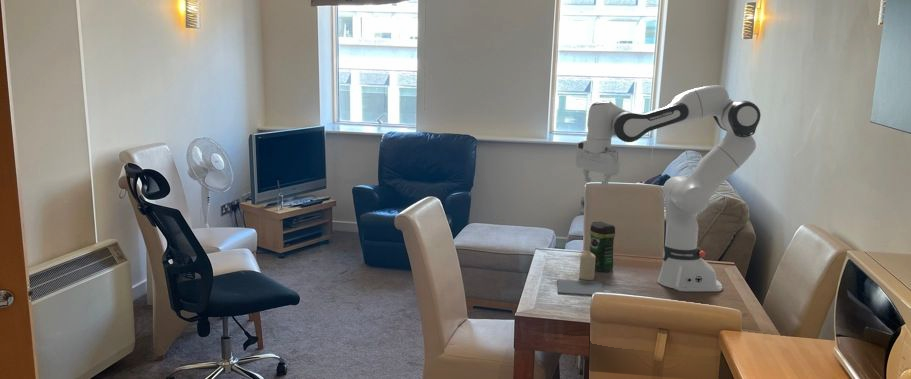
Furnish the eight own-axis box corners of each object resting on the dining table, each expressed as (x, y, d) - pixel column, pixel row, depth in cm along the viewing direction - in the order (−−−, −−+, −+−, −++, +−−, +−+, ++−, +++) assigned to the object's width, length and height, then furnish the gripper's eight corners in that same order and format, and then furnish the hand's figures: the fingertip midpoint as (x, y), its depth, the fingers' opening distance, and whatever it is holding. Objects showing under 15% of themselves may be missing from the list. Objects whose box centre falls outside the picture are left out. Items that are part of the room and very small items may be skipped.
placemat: (601, 283, 254) (601, 282, 254) (604, 296, 240) (604, 295, 240) (557, 281, 256) (557, 279, 255) (558, 293, 242) (558, 292, 242)
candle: (594, 280, 257) (595, 254, 255) (579, 279, 258) (580, 253, 256) (594, 276, 262) (595, 250, 260) (579, 275, 263) (581, 249, 261)
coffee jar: (616, 271, 270) (619, 224, 266) (600, 273, 266) (603, 226, 263) (600, 264, 278) (603, 219, 275) (584, 266, 274) (587, 220, 271)
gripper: (625, 149, 244) (622, 188, 246) (587, 142, 261) (584, 178, 264) (611, 150, 241) (608, 189, 243) (573, 143, 258) (571, 179, 261)
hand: (595, 183), depth 254 cm, fingers open, 8 cm apart
